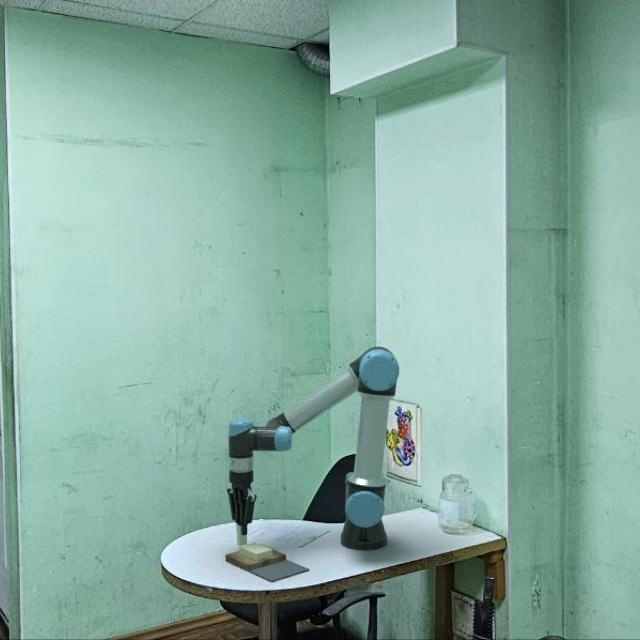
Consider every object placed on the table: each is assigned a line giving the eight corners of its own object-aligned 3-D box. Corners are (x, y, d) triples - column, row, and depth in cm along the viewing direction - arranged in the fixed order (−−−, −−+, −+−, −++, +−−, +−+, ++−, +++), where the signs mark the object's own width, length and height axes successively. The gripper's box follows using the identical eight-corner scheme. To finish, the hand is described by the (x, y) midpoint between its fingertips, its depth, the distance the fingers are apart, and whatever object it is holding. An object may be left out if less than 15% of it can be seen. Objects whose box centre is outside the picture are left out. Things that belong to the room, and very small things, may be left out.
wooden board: (262, 550, 264) (262, 544, 264) (286, 560, 255) (286, 554, 255) (225, 561, 255) (225, 554, 255) (248, 571, 246) (248, 565, 246)
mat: (287, 561, 254) (287, 559, 254) (309, 570, 247) (309, 568, 247) (249, 572, 245) (249, 570, 245) (271, 582, 237) (271, 580, 237)
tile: (239, 552, 256) (239, 546, 256) (254, 548, 260) (254, 542, 260) (256, 560, 249) (256, 554, 249) (272, 556, 253) (272, 549, 253)
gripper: (219, 467, 261) (220, 541, 263) (243, 475, 251) (244, 552, 253) (239, 464, 266) (239, 536, 267) (263, 471, 256) (264, 547, 258)
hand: (242, 544), depth 260 cm, fingers closed
